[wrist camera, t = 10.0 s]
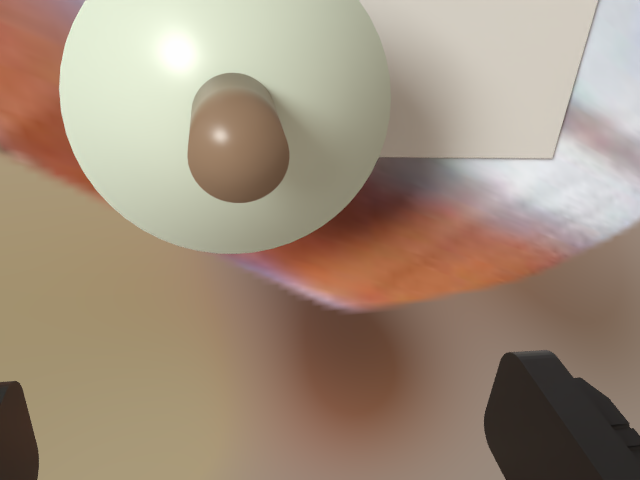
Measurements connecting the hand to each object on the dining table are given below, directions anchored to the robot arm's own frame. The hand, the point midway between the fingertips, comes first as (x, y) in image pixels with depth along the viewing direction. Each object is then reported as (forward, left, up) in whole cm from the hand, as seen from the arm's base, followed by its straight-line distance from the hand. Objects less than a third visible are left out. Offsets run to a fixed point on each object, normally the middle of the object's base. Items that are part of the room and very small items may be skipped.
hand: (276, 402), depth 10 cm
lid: (0, 0, -18) cm, 18 cm away
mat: (-15, -2, -28) cm, 32 cm away
